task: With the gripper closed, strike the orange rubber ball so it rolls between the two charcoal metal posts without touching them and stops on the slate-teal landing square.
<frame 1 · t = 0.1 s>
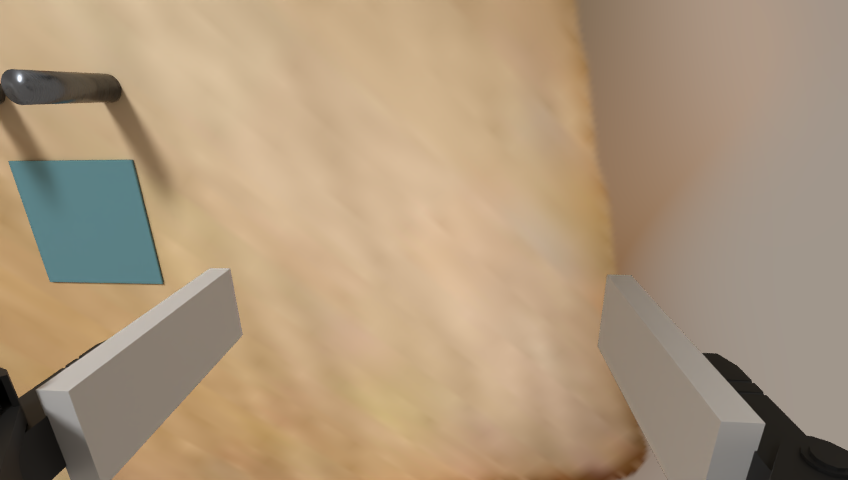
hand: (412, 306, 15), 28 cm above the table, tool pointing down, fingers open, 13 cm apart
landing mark: (89, 224, 47), on the table
post 2: (108, 88, 41), on the table
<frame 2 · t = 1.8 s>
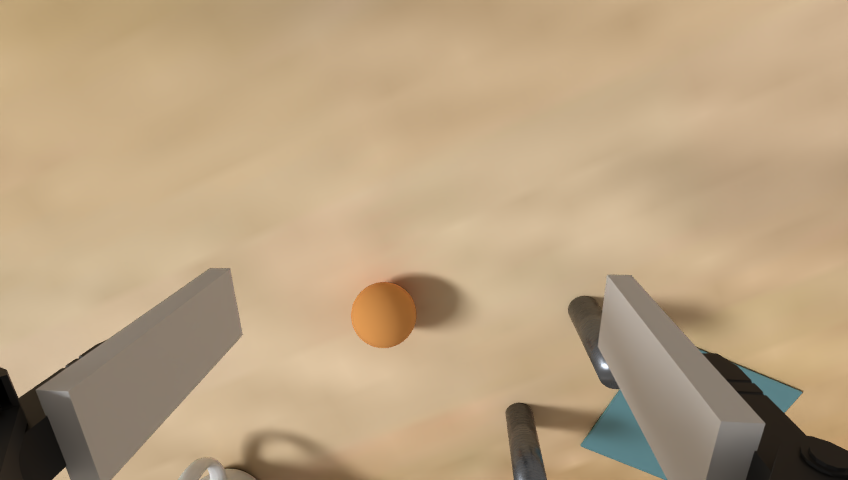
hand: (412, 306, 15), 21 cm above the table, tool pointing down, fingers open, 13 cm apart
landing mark: (685, 419, 40), on the table
post 1: (519, 414, 41), on the table
ball: (384, 314, 36), on the table
post 2: (583, 309, 37), on the table
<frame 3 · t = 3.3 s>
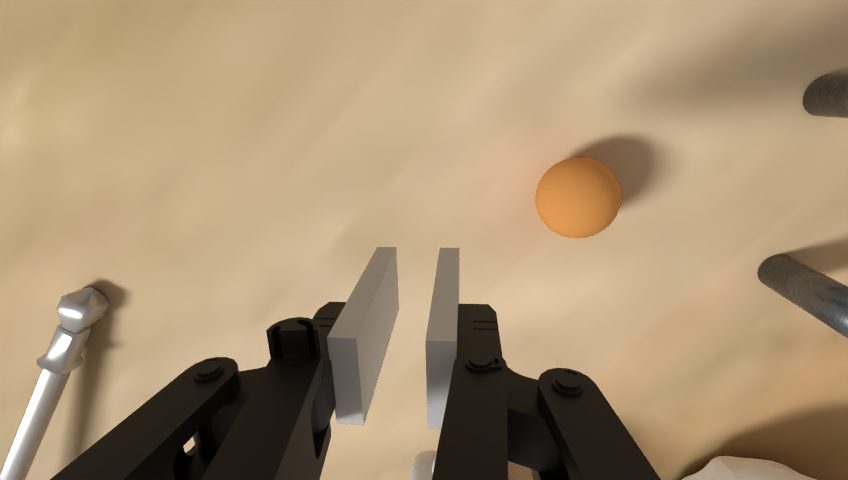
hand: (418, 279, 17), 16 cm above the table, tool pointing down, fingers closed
post 1: (776, 270, 32), on the table
hammer: (56, 427, 45), on the table
mug: (458, 475, 42), on the table
ball: (576, 198, 29), on the table
post 2: (824, 95, 28), on the table
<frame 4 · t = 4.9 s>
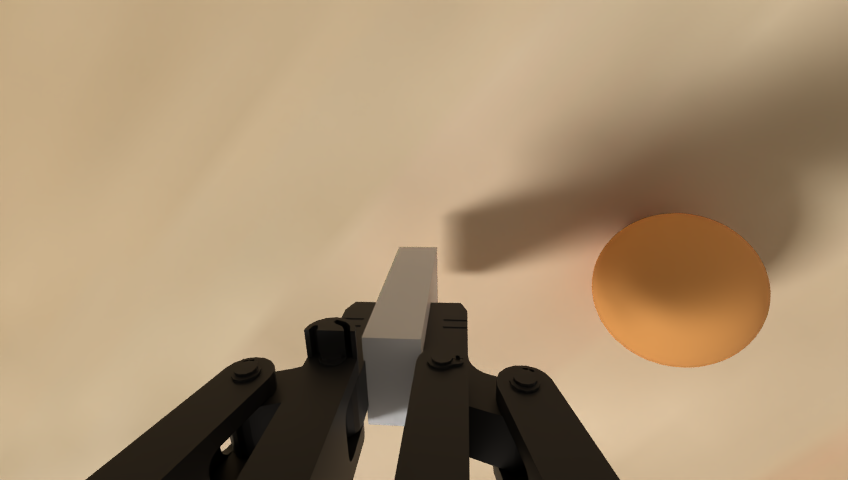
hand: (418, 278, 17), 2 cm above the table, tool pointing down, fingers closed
ball: (673, 288, 15), on the table
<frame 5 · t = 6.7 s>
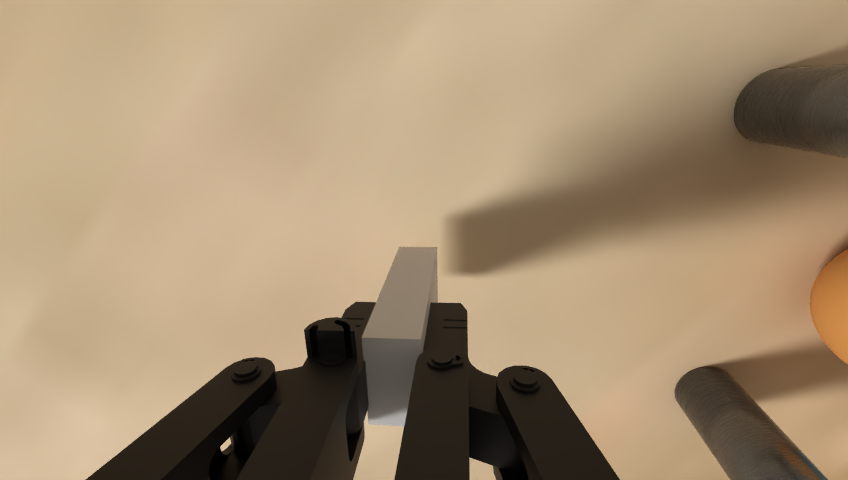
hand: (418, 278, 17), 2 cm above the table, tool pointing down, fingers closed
post 1: (704, 390, 20), on the table
post 2: (772, 106, 16), on the table
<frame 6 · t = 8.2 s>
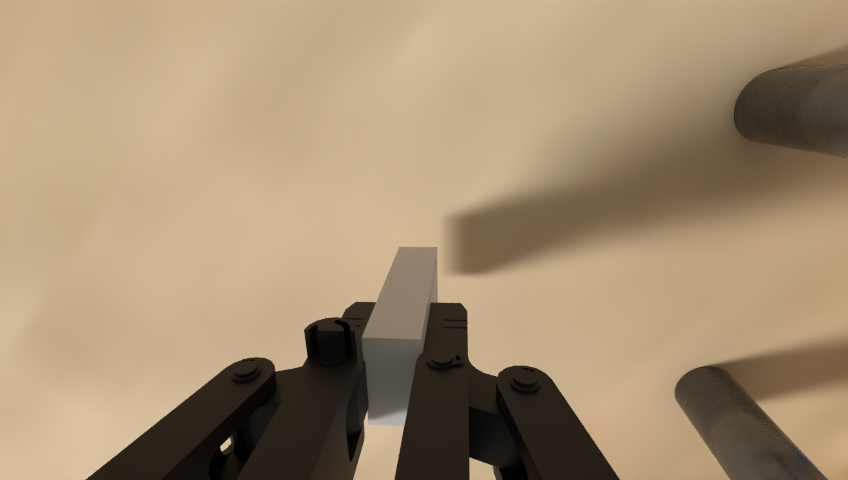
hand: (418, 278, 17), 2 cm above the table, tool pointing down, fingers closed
post 1: (704, 390, 20), on the table
post 2: (772, 106, 16), on the table
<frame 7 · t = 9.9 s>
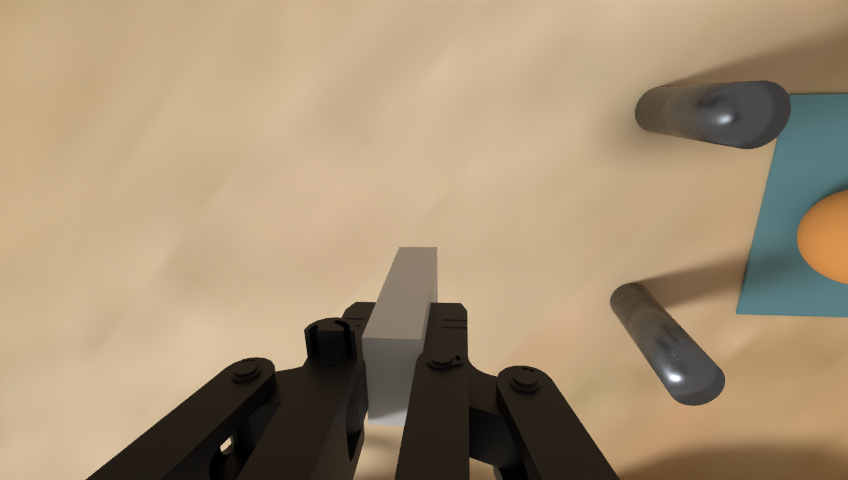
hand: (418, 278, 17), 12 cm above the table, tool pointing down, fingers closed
post 1: (629, 300, 29), on the table
post 2: (658, 109, 25), on the table
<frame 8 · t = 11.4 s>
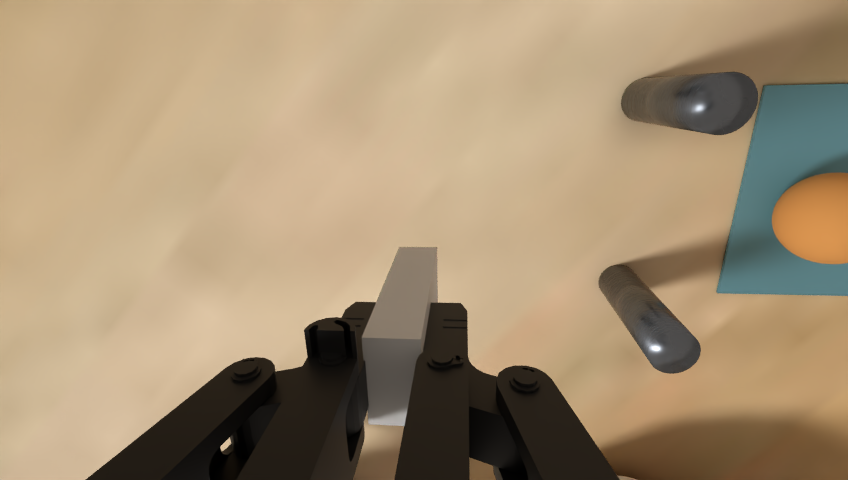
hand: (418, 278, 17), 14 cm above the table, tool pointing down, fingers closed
post 1: (617, 281, 31), on the table
ball: (830, 218, 26), on the table
post 2: (642, 100, 27), on the table
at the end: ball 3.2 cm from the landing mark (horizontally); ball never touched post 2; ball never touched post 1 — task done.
